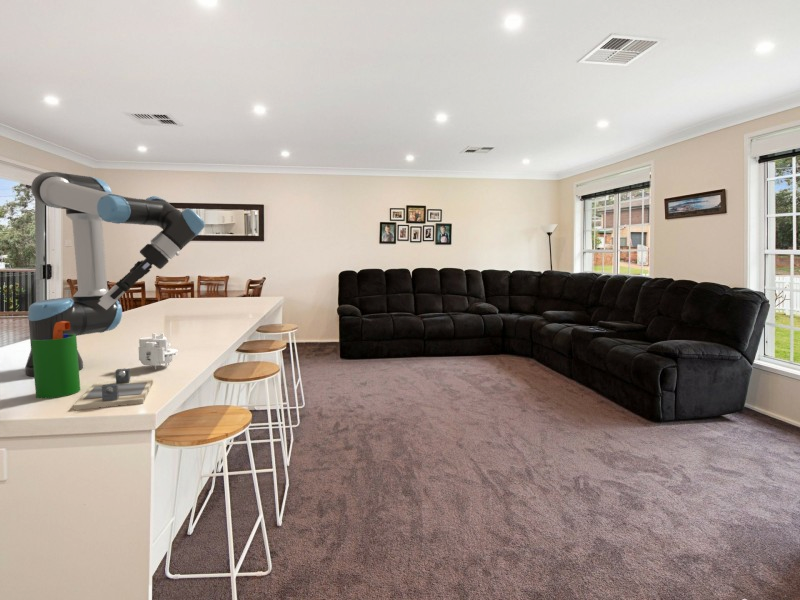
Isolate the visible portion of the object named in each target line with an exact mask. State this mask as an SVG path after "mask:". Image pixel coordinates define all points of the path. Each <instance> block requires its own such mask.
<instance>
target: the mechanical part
mask: <svg viewBox="0 0 800 600" xmlns="http://www.w3.org/2000/svg"><path fill="white" fill-rule="evenodd" d="M138 343H139V346H138V361H140V363H141V364H142V365H144V366H150V368H151V367H152V368H154V370H157V366H162V365H164V364H165V366H164V367H165V369H168V365H170V364H171V363H172V362H173V357H175V356H178V352H179V350H178V349H176V348H169V347H172V343H171V342H168V337H166V336H165V332H161V333H160V334H157V333H156V332H154V333H152V336H147V337H146V336H145V337H140V338H139V339H138ZM153 366H154V367H153ZM170 366H171V365H170Z"/></svg>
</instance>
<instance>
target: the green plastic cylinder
mask: <svg viewBox="0 0 800 600" xmlns="http://www.w3.org/2000/svg"><path fill="white" fill-rule="evenodd" d="M69 329H70V322H67V321H61V322H57V323H56V324H55V325H54V330H53V339H52V340H31V343H30V345H31V344H32V356H33V367H34V376H33V377H34V388H35V397H36V399H54V398H55V399H56V398H62V397H66V396H71V395H73V394H76V392H77V393H78V391H79V392H80V391H81V381H80V379H81V378H80V370H79V365H78V352H79V351H78V352H77V350H78V343H77V342H78V341H77V336H76V335H75V334H63V330H69ZM70 394H71V395H70Z"/></svg>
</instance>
